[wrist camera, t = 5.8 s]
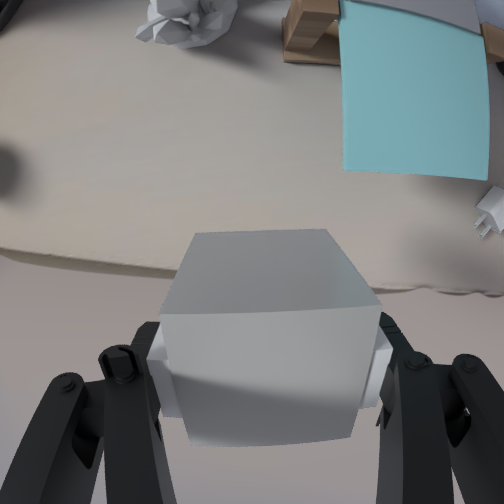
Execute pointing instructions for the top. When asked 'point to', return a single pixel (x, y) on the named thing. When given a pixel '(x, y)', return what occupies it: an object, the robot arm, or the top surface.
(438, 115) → the trapdoor
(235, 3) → the crystal
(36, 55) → the top surface
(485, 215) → the usb wall charger
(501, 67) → the supplement bottle
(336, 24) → the stand
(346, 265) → the plain grey cube
